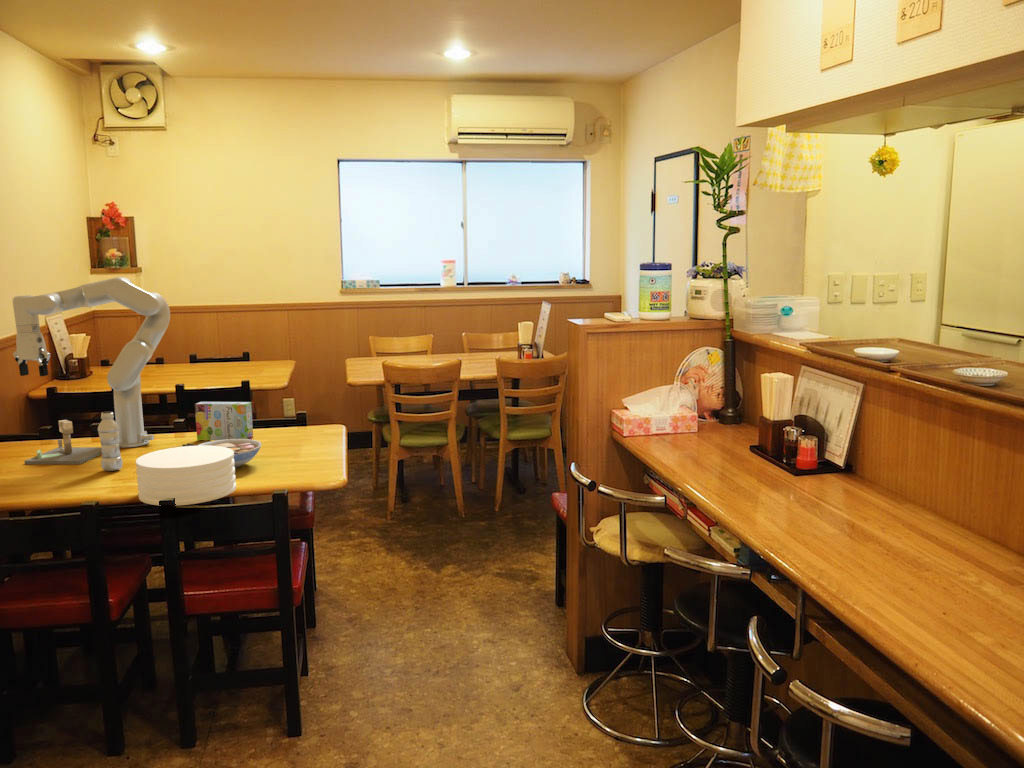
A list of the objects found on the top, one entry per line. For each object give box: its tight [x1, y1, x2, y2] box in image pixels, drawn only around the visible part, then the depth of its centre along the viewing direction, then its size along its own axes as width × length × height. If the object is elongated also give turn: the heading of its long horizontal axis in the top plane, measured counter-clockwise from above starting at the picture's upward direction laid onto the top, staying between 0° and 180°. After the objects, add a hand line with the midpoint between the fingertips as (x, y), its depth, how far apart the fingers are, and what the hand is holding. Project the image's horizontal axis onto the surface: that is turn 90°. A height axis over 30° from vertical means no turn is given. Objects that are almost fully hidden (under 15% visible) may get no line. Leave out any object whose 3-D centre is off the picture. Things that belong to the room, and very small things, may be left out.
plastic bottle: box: [97, 411, 124, 472], centre depth 283 cm, size 6×7×20 cm
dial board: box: [23, 446, 102, 465], centre depth 303 cm, size 20×20×3 cm
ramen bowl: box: [181, 439, 262, 469], centre depth 287 cm, size 25×23×8 cm
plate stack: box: [135, 444, 237, 506], centre depth 258 cm, size 28×28×12 cm
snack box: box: [194, 401, 254, 441], centre depth 326 cm, size 21×6×15 cm, turn 82°
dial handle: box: [57, 419, 74, 454], centre depth 304 cm, size 11×2×12 cm, turn 47°
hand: (34, 375), depth 310 cm, fingers open, 9 cm apart
